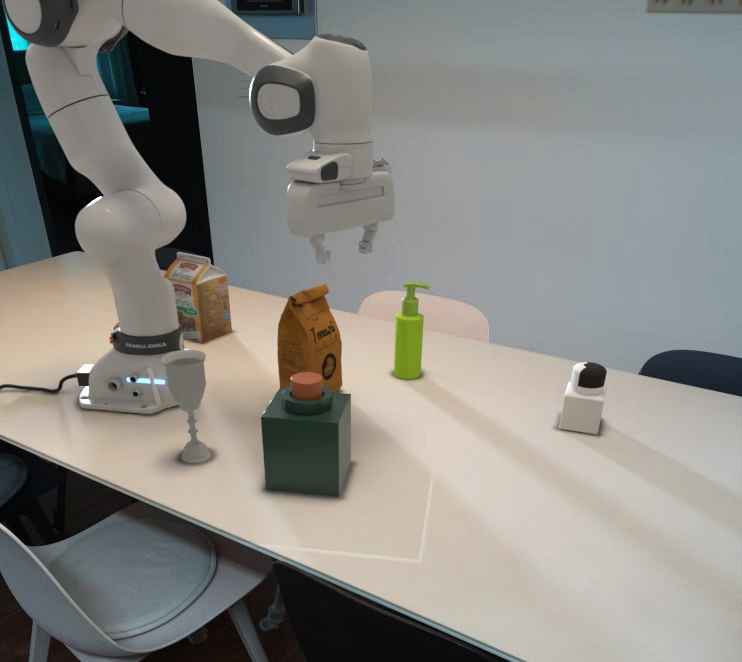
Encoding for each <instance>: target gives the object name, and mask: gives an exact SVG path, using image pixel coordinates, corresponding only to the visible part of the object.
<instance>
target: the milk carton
mask: <svg viewBox="0 0 742 662" xmlns="http://www.w3.org/2000/svg"><path fill="white" fill-rule="evenodd" d="M167 268H168V269H166V271H165V273H164V275H163V276H164V277H165V278H167V279H168V280H169V281H170V282H171V283H172V285H173V287H174V290H175V298H176V306H177V314H178V322H179V324H180V325H181V329H182V333H183V338H184V340H188V341H191V342H196V343H199V344H204V343H207V342H209V341H212V340H214V339H217V338H220V337H223V336H225V335H228V334H230V333H232V332H233V328H232V327H233V325H232V316H231V315H232V314H231V304H230V294H229V293H230V292H229V282H228V274H227V273H226V272H225V271H224V270H222V269H221V268H219V267H217V266H215V265H213V264H212V261H211V258H210V257H206V256H202V255H197V254H191V253H185V252H181V251H177V252H176V259H175V260H174V261H173V262H172V263H171V264H170V265H169V267H167Z"/></svg>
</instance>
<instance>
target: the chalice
mask: <svg viewBox="0 0 742 662" xmlns="http://www.w3.org/2000/svg"><path fill="white" fill-rule="evenodd" d="M206 358H207V354H206V353H205V352H204V351H202V350H196V349H190V350H180V351H174V352H171V353H168V354H166V355H164V356H163V357H162V359H161V361H162V362H163V364H164V365H165V367H166V374H167V381H168V388H169V390H170V392H171V394H172V396H173V398H174V399H175V401H176V402H177V403H178V405H177V406H178V407H179V408H180V409H181V410H182V411H183V412H187V420H186V423H188V425H189V429H188V430H187V433H188V434H189V435H190V441H188V442H187V443H186V444H185V446H183V450H182V455H181V457H180V458H181V460H182V461H183V462H185V463H188V464H199V463H202V462H205V461H207V460H208V459H210V458H211V456H212V453H211V452H210V451H209V447H207V445H206V443H204V442H203V441H201V440H199V439H198V437H197V435H198V433H199V429H198V428H197V427H196V423H197V421H198V420H197V419H196V418H195V411H197V410H199V408H200V406H201V402H202V400H203V398H204V395H205V390H206V386H207V380H206V371H205V360H206Z"/></svg>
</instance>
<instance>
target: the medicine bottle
mask: <svg viewBox="0 0 742 662" xmlns="http://www.w3.org/2000/svg"><path fill="white" fill-rule="evenodd" d="M607 373H608V369H607V368H606V367H605V366H604V365H601V364H599V363H598V362H593V361H583V362H578V363H576V364H574V365H573V367H572V372H571V378H570V381H568V383H567V386H566V389H565V393H564V396H563V401H562V407H561V414H560V420H559V424H558V425H559V426H558V428H559V430H565V431H571V432H577V433H578V432H579V433H583V434H591V435H598V434H599V430H600V425H601V424H600V423H601V420H602V419H601V418H602V415H603V410H604V405H605V399H606V393H607V386H606V385H605V383H606V378H607Z"/></svg>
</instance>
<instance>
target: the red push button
mask: <svg viewBox="0 0 742 662" xmlns="http://www.w3.org/2000/svg"><path fill="white" fill-rule="evenodd" d="M291 391H292V397H293V398H295V399H298V400H315V399H318V398H321V397H322V395H323V393H322V376H321V375H319V374H317V373H313V372H301V373H297V374H294V375H293V376H292V377H291Z"/></svg>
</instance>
